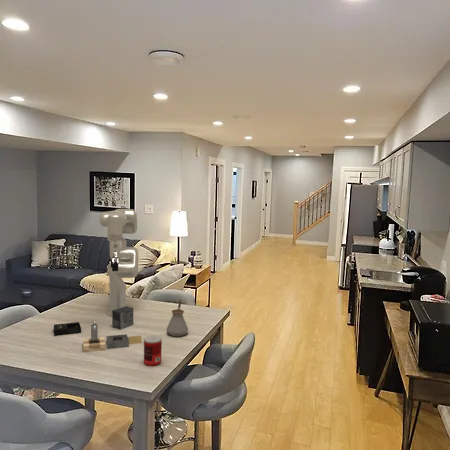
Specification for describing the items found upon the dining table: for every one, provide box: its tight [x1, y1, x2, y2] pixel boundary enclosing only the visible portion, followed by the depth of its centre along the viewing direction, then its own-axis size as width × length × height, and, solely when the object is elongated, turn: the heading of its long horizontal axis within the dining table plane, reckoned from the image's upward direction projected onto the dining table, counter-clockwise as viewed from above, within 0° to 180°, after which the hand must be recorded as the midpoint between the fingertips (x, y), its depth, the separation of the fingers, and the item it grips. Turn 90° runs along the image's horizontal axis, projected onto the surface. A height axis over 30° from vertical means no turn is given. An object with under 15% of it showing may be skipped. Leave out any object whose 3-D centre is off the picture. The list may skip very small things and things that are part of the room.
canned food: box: [143, 335, 163, 367], centre depth 183 cm, size 8×8×11 cm
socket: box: [105, 334, 130, 350], centre depth 202 cm, size 10×10×3 cm
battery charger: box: [53, 321, 82, 337], centre depth 217 cm, size 13×10×4 cm
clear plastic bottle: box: [90, 320, 99, 344], centre depth 197 cm, size 3×3×13 cm
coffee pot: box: [166, 299, 189, 338], centre depth 223 cm, size 21×12×15 cm, turn 1°
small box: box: [111, 306, 134, 331], centre depth 227 cm, size 11×6×10 cm, turn 149°
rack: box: [82, 336, 107, 353], centre depth 198 cm, size 10×10×3 cm
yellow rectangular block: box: [128, 335, 142, 345], centre depth 205 cm, size 3×6×3 cm, turn 109°
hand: (114, 269), depth 220 cm, fingers open, 9 cm apart
